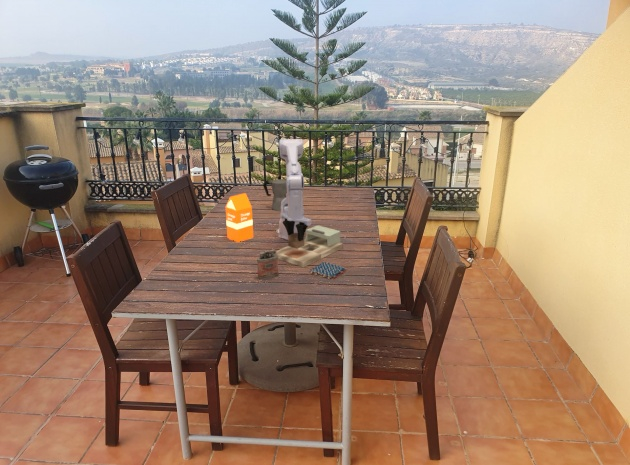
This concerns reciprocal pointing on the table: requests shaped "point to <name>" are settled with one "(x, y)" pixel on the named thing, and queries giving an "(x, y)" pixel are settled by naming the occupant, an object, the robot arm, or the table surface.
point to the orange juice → (239, 218)
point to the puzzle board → (308, 252)
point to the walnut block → (295, 241)
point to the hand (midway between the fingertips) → (295, 238)
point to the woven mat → (327, 270)
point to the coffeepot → (277, 192)
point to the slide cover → (323, 234)
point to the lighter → (267, 264)
